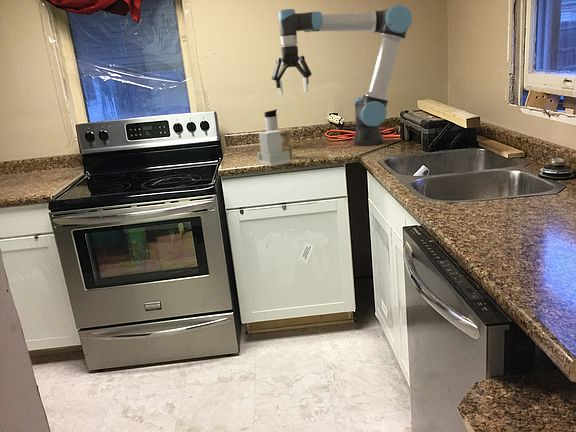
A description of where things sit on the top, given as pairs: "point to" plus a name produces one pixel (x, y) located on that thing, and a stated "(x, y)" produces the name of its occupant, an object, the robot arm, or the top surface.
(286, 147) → the spool
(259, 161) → the green and white block
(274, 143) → the supplement box
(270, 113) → the travel mug
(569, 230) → the top surface
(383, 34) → the robot arm
